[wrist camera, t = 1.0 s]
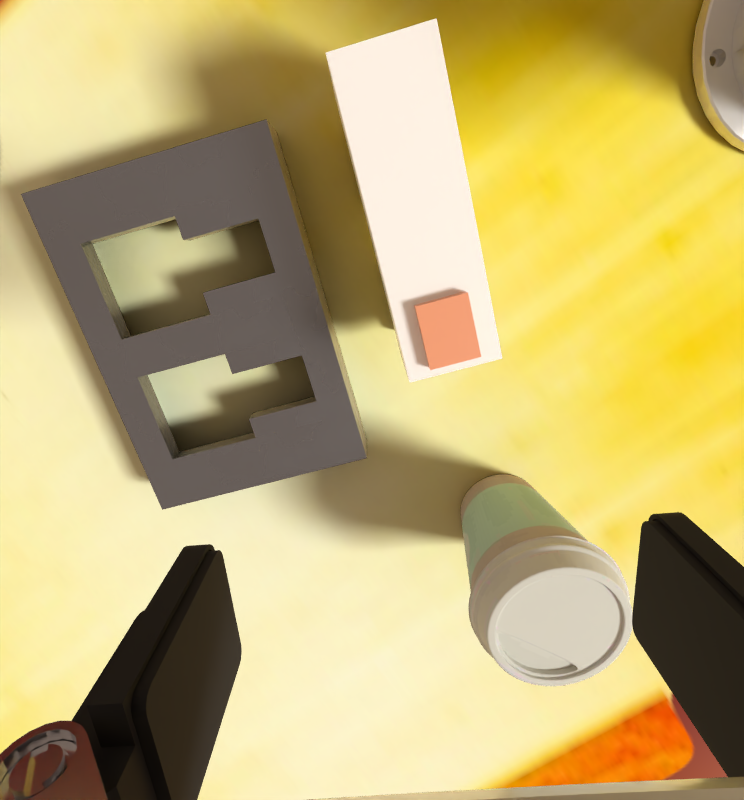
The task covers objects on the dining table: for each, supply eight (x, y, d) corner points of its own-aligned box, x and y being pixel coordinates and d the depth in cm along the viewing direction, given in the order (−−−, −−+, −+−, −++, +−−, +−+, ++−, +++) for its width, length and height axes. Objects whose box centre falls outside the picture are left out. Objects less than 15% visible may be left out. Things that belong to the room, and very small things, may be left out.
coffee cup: (421, 490, 36) (447, 604, 25) (528, 436, 35) (607, 529, 23) (472, 576, 38) (518, 717, 27) (575, 528, 37) (668, 654, 26)
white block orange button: (413, 91, 28) (438, 11, 19) (463, 326, 32) (505, 361, 23) (338, 114, 29) (324, 47, 19) (397, 344, 33) (410, 385, 23)
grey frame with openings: (276, 132, 29) (266, 119, 26) (366, 439, 35) (366, 457, 32) (56, 199, 30) (20, 194, 27) (179, 486, 36) (162, 509, 33)
